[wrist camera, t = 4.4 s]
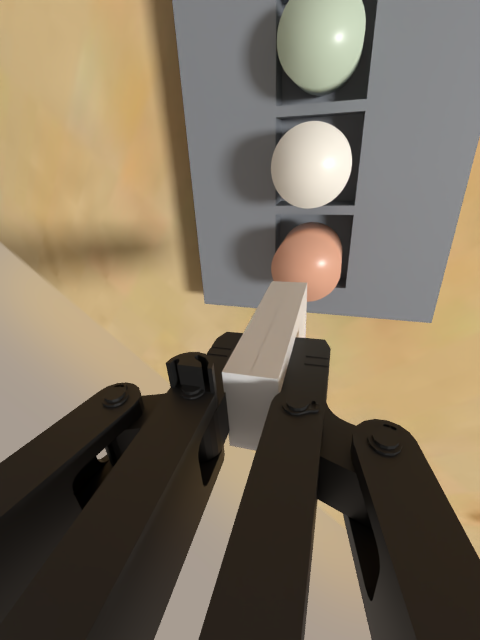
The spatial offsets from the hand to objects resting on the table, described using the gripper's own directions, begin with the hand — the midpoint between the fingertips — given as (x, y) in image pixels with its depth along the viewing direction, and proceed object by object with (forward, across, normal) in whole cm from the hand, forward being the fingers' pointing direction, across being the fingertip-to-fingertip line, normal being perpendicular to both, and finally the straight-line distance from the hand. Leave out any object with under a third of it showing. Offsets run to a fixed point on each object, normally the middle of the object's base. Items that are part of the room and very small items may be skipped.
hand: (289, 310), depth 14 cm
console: (+14, 0, +5) cm, 15 cm away
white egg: (+11, 0, +5) cm, 13 cm away
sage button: (+13, 0, +11) cm, 17 cm away
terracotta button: (+11, 0, -1) cm, 11 cm away
